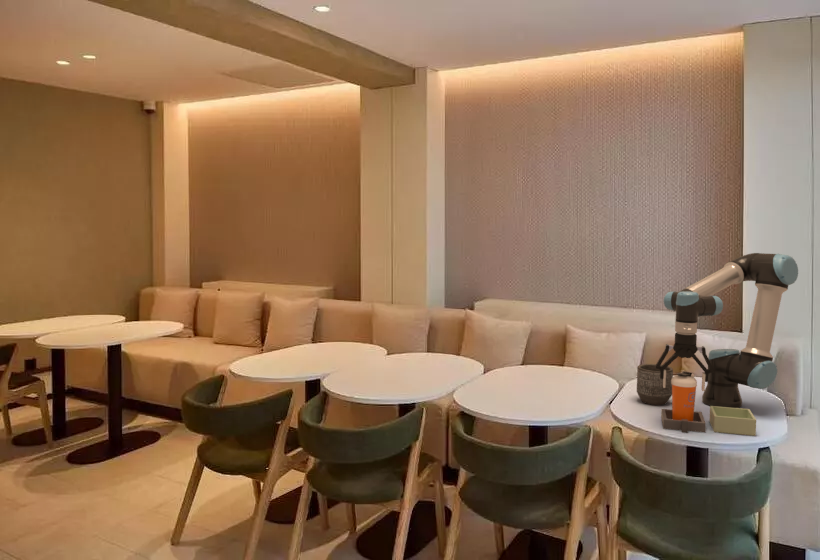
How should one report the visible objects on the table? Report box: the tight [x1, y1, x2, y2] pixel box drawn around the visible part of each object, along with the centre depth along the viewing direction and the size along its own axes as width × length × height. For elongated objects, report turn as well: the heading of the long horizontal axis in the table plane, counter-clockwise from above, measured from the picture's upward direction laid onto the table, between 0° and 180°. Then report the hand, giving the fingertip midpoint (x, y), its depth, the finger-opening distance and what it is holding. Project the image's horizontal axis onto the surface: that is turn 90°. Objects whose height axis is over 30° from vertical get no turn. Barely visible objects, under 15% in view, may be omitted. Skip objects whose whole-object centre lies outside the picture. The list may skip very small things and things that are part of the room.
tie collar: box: [660, 408, 707, 434], centre depth 243 cm, size 17×14×4 cm
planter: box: [636, 363, 674, 406], centre depth 273 cm, size 14×14×15 cm
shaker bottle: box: [671, 370, 698, 421], centre depth 243 cm, size 9×9×20 cm
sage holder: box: [709, 405, 757, 437], centre depth 239 cm, size 14×14×6 cm
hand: (683, 388), depth 243 cm, fingers open, 13 cm apart
